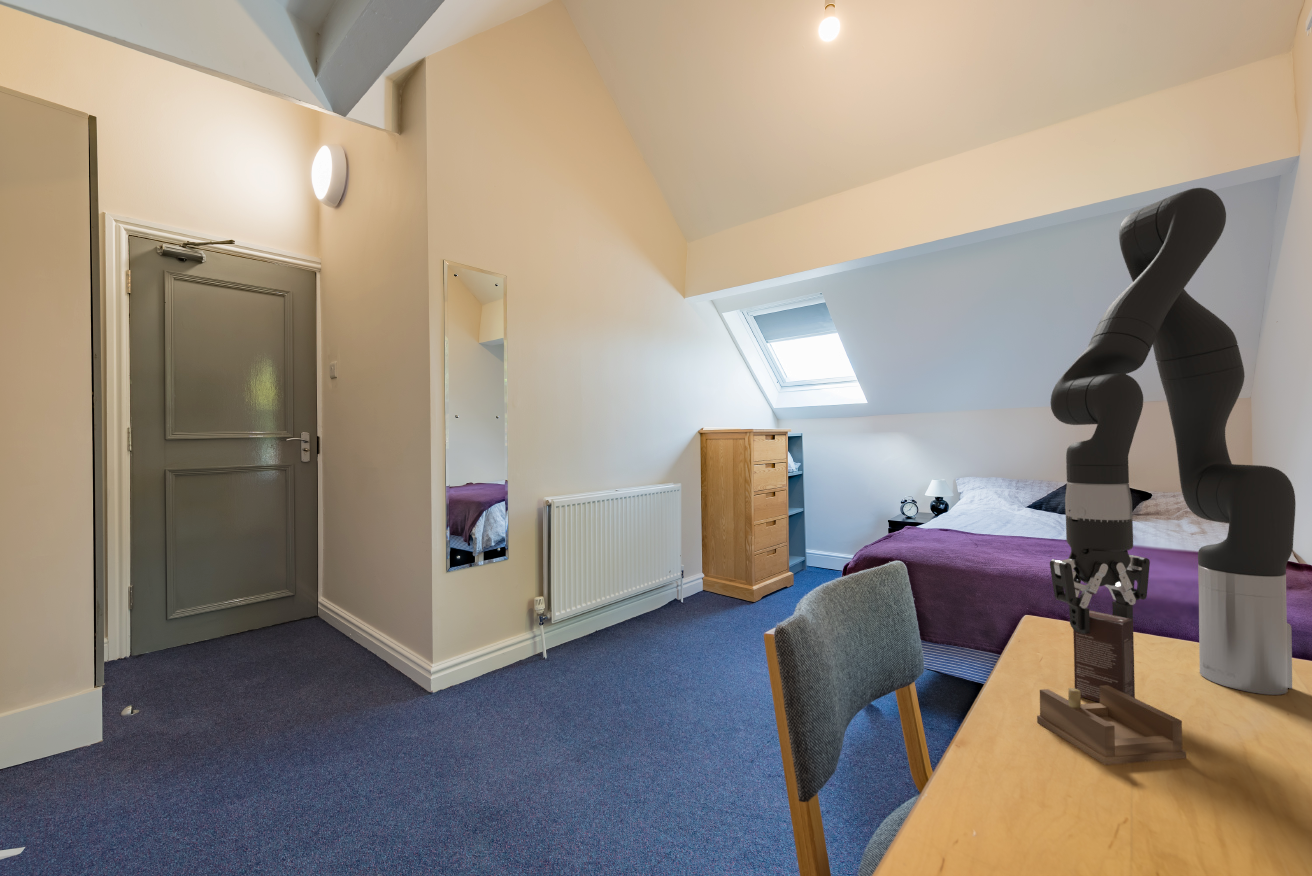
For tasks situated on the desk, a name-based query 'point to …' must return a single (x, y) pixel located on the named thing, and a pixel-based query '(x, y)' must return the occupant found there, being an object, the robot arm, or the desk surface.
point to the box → (1104, 656)
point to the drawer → (1112, 726)
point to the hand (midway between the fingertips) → (1101, 630)
